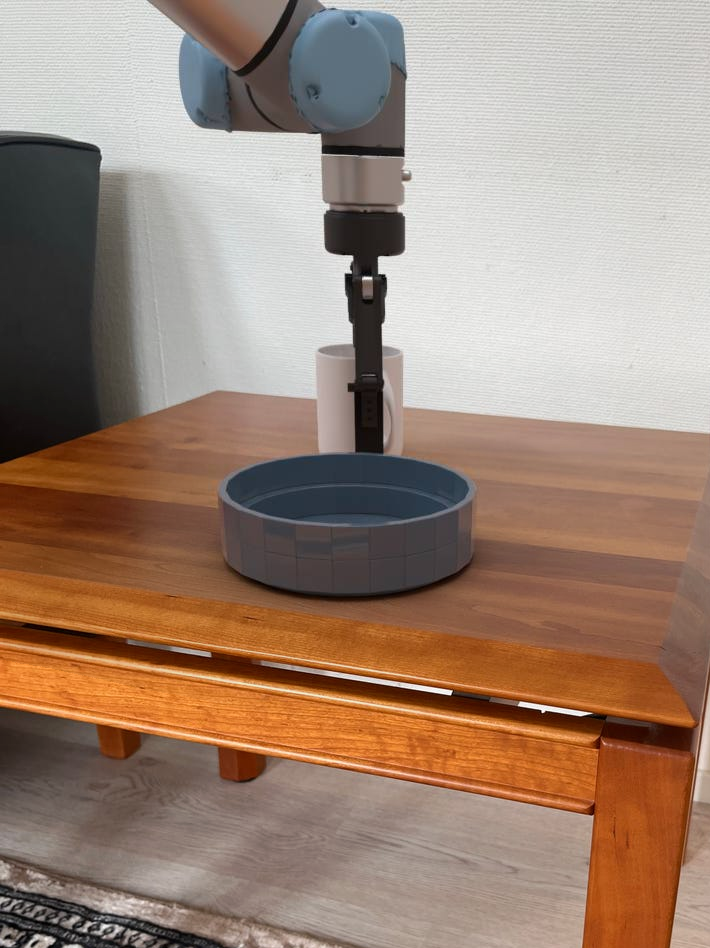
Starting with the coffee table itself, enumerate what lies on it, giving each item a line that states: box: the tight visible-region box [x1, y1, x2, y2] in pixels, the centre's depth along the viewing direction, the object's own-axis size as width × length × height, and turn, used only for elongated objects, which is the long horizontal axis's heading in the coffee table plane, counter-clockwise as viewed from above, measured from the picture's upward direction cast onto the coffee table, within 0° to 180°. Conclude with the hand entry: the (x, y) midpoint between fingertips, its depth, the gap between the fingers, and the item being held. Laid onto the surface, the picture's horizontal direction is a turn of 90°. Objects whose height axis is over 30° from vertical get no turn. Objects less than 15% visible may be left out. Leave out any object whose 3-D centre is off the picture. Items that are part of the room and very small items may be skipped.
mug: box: [315, 343, 404, 456], centre depth 101 cm, size 9×12×11 cm
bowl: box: [216, 452, 478, 597], centre depth 78 cm, size 19×19×6 cm
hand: (367, 443), depth 103 cm, fingers closed on mug, 11 cm apart
